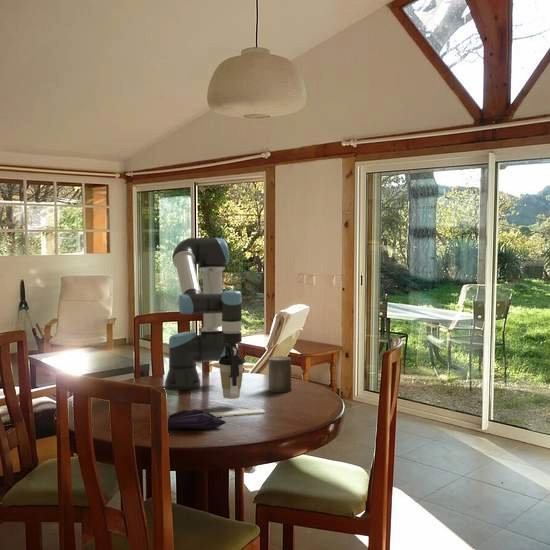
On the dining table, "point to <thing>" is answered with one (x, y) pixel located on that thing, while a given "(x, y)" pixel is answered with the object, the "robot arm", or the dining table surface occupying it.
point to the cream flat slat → (238, 412)
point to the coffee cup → (226, 372)
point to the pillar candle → (279, 374)
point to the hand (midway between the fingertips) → (231, 390)
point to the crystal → (194, 420)
